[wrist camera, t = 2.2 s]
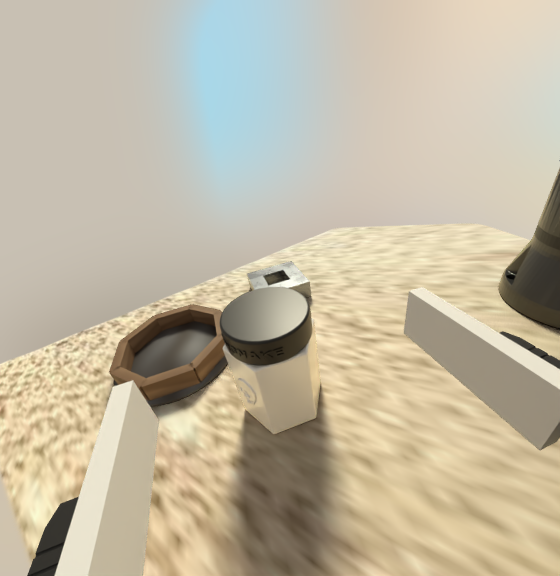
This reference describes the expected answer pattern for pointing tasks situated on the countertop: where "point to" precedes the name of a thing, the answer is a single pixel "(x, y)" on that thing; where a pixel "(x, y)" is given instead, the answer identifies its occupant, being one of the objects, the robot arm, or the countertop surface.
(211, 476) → the countertop surface
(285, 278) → the square socket
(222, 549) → the countertop surface
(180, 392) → the brown octagonal tray
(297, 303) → the jar
